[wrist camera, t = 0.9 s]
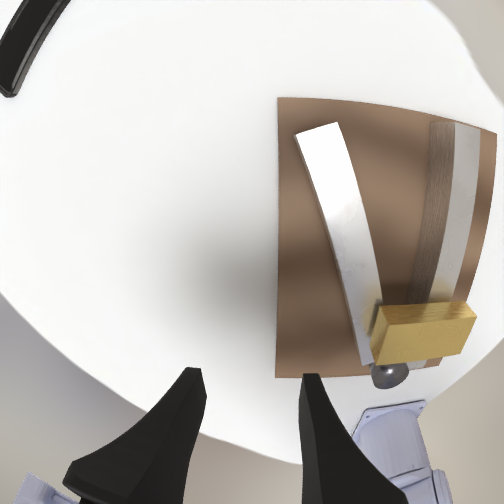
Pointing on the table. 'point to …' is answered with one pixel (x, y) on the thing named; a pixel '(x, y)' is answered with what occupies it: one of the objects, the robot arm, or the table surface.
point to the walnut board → (378, 218)
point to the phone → (25, 40)
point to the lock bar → (420, 331)
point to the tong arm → (344, 228)
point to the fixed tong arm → (440, 227)
